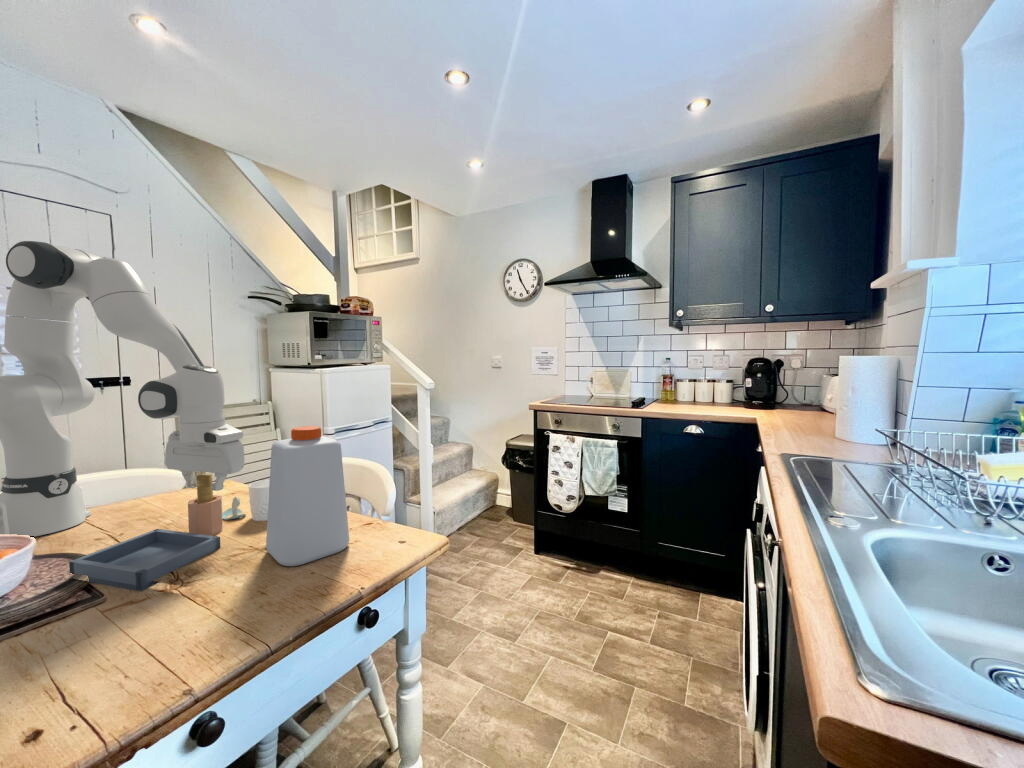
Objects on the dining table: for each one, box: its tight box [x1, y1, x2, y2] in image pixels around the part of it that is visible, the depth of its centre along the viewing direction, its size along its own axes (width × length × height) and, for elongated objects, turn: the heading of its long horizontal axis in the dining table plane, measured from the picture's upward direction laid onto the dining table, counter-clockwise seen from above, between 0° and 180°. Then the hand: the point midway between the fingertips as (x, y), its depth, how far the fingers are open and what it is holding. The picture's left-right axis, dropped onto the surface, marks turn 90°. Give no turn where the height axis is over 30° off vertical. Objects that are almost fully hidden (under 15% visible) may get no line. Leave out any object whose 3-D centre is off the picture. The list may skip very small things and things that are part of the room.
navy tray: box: [68, 528, 221, 592], centre depth 85 cm, size 18×16×4 cm
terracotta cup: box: [187, 494, 224, 536], centre depth 99 cm, size 6×6×9 cm
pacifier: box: [222, 496, 246, 521], centre depth 108 cm, size 7×6×6 cm
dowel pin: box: [196, 473, 214, 503], centre depth 98 cm, size 3×3×14 cm
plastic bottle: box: [265, 425, 350, 567], centre depth 92 cm, size 15×15×28 cm
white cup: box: [248, 478, 270, 522], centre depth 109 cm, size 8×8×10 cm
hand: (205, 488), depth 98 cm, fingers open, 6 cm apart
